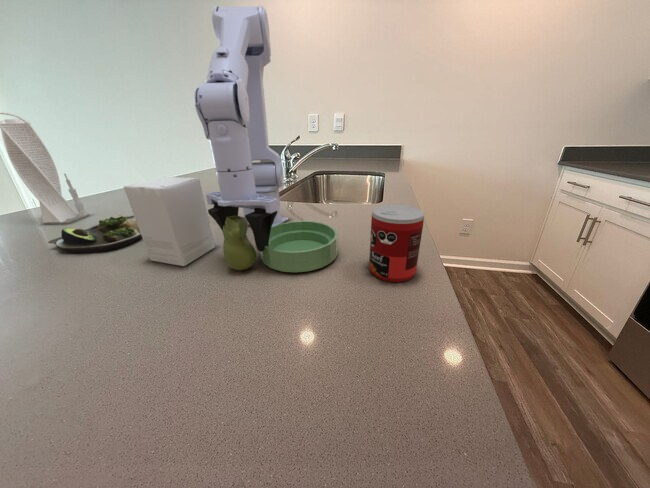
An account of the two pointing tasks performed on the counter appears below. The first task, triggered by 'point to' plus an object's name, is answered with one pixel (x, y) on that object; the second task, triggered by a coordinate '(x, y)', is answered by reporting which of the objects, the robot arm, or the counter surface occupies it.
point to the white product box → (171, 218)
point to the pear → (237, 243)
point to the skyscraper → (39, 171)
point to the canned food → (395, 242)
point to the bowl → (300, 246)
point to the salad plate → (99, 236)
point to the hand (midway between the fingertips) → (247, 245)
